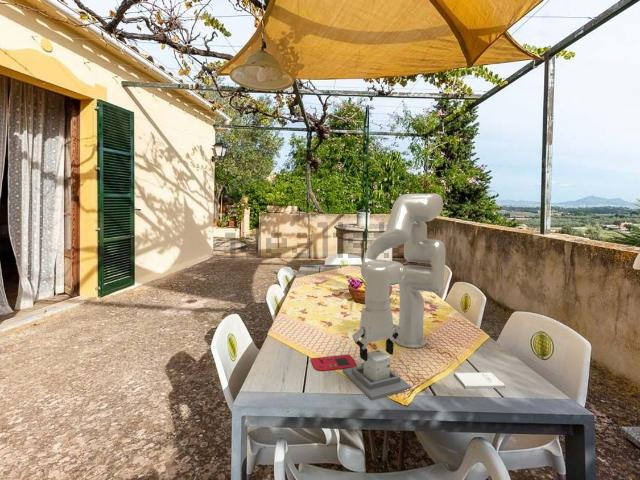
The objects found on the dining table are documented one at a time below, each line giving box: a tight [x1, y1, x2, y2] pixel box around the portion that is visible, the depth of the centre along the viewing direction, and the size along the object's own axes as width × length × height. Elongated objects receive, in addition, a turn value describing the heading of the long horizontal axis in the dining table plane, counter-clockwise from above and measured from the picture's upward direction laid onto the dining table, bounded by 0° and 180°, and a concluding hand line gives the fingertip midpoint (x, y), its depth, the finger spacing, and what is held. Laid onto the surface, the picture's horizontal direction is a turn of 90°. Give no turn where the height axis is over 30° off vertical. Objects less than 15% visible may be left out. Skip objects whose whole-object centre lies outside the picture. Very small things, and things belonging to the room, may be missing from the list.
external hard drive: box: [453, 372, 506, 390], centre depth 109 cm, size 2×8×12 cm
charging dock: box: [342, 358, 412, 401], centre depth 109 cm, size 18×14×4 cm
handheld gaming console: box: [310, 354, 357, 372], centre depth 121 cm, size 10×1×15 cm
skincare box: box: [364, 350, 391, 382], centre depth 109 cm, size 6×6×7 cm
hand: (376, 356), depth 109 cm, fingers open, 9 cm apart
